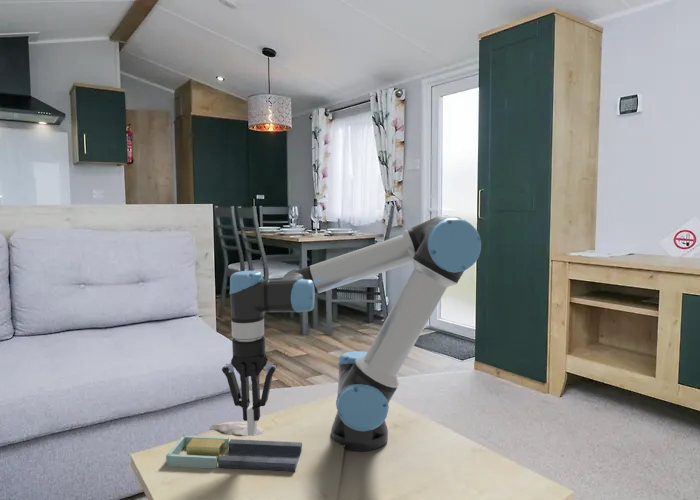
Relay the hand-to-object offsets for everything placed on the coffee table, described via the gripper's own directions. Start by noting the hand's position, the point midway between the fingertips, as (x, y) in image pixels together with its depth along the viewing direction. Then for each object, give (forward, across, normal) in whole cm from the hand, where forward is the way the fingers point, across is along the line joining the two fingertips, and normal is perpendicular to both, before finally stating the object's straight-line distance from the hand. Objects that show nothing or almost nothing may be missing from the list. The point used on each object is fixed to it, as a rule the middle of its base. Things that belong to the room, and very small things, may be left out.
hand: (252, 432), depth 120 cm
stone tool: (+8, +8, -15) cm, 19 cm away
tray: (+7, +13, 0) cm, 15 cm away
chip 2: (+7, +10, 0) cm, 12 cm away
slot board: (+8, -2, 0) cm, 8 cm away
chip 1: (+7, +14, 0) cm, 15 cm away
